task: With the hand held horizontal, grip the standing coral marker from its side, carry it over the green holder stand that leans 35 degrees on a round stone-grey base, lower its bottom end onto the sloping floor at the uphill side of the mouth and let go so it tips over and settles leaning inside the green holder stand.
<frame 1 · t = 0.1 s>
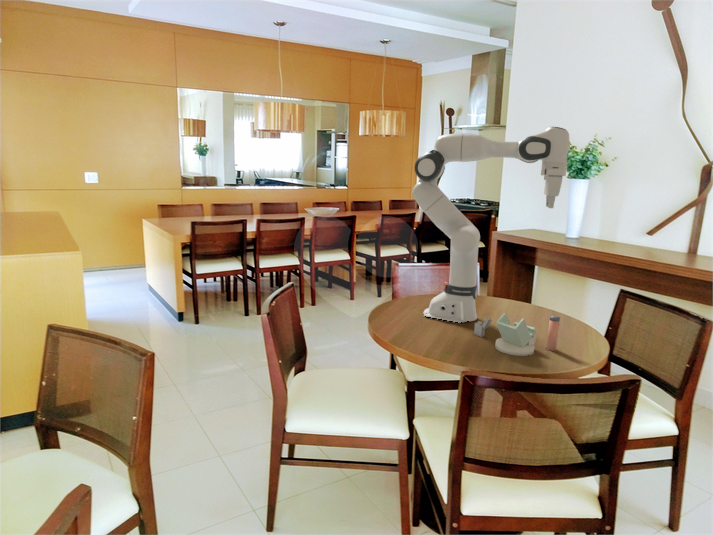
hand: (549, 207, 186), 48 cm above the table, tool pointing down, fingers open, 8 cm apart
lighter: (481, 336, 181), on the table
marker: (551, 349, 170), on the table
green holder stand: (515, 348, 169), on the table
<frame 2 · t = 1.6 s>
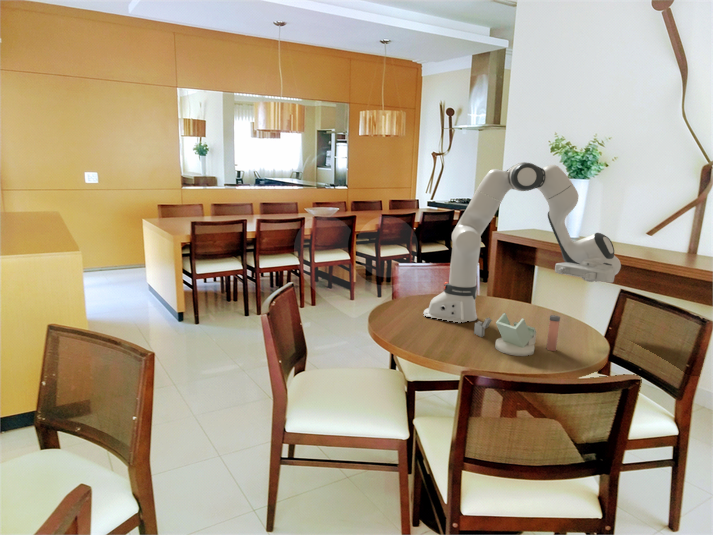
hand: (571, 274, 175), 25 cm above the table, tool horizontal, fingers open, 8 cm apart
nothing on the table moved.
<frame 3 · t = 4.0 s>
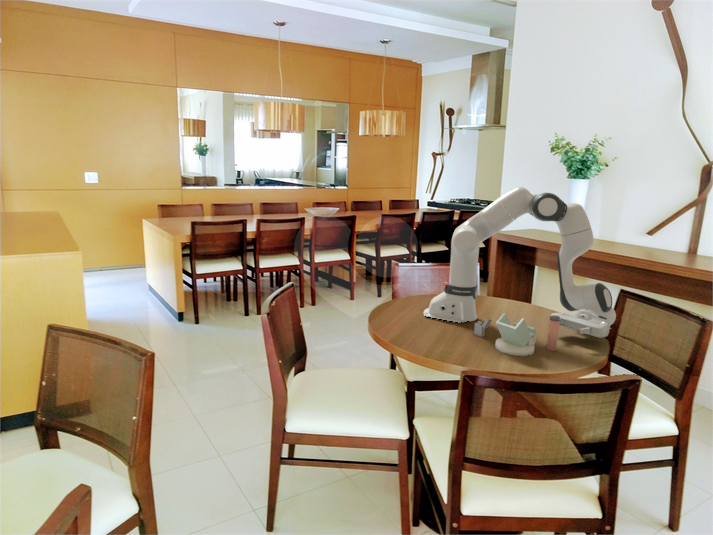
hand: (566, 327, 173), 6 cm above the table, tool horizontal, fingers open, 8 cm apart
nothing on the table moved.
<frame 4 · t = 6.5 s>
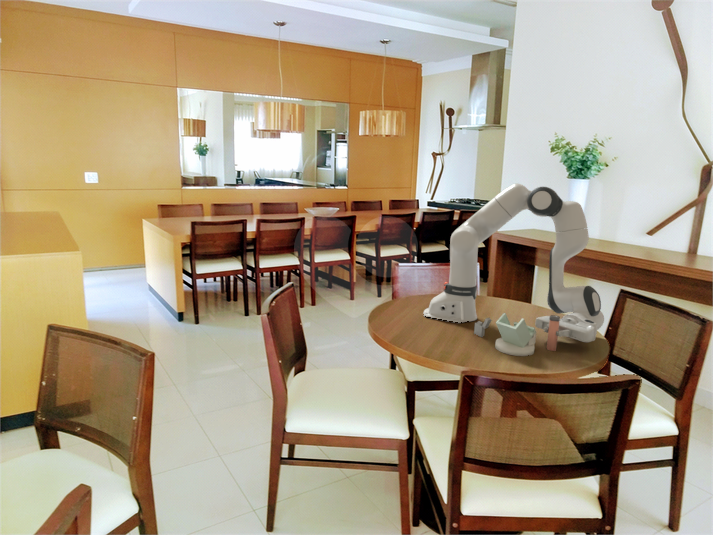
hand: (551, 332, 168), 7 cm above the table, tool horizontal, fingers closed on marker, 3 cm apart
marker: (551, 349, 169), on the table, touching gripper
everything else where it was.
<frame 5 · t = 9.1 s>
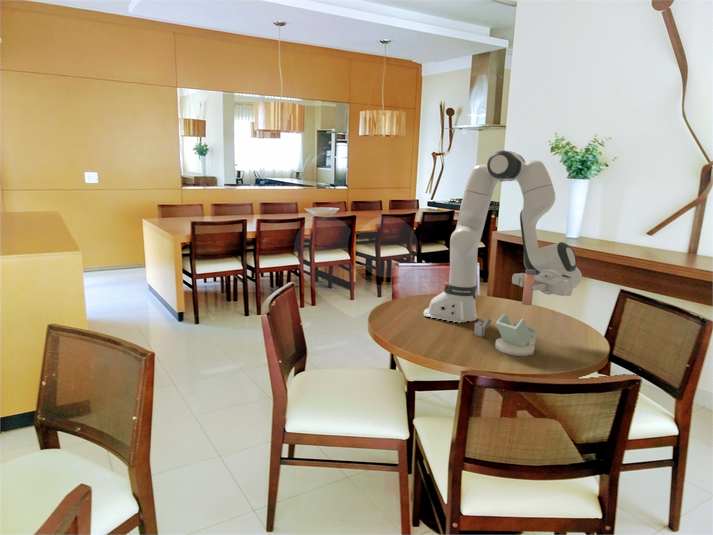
hand: (527, 286, 165), 23 cm above the table, tool horizontal, fingers closed on marker, 3 cm apart
marker: (526, 304, 167), point 16 cm above the table, touching gripper
everything else where it was.
when the fingers open (13 cm above the table, at t = 11.9 s): marker drops 1 cm and tips over, resting on green holder stand.
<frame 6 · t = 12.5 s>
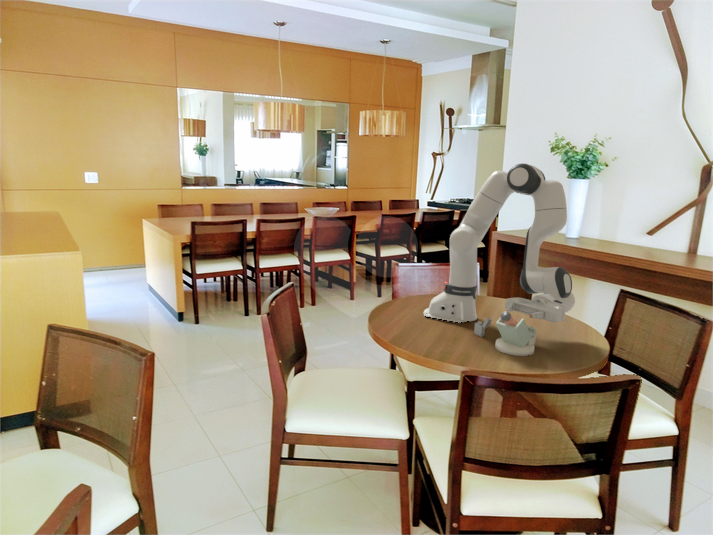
hand: (519, 312, 166), 13 cm above the table, tool horizontal, fingers open, 8 cm apart
marker: (519, 333, 169), point 5 cm above the table, tilted 48°, touching green holder stand
everything else where it was.
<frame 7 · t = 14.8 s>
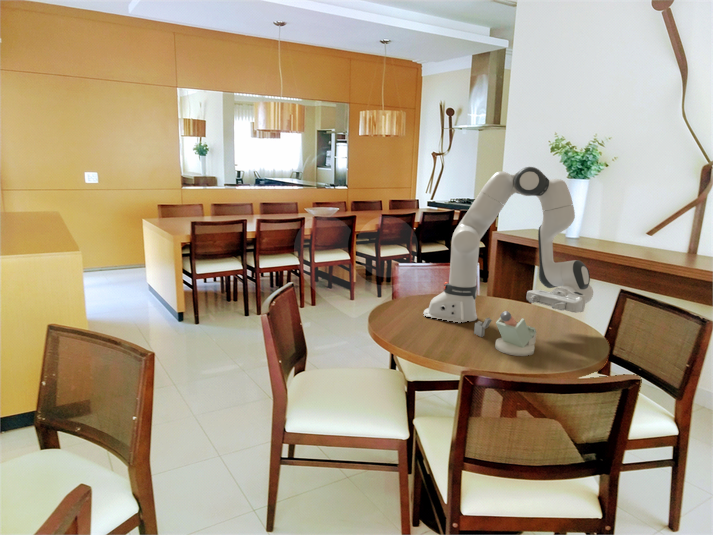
hand: (541, 303, 174), 15 cm above the table, tool horizontal, fingers open, 8 cm apart
nothing on the table moved.
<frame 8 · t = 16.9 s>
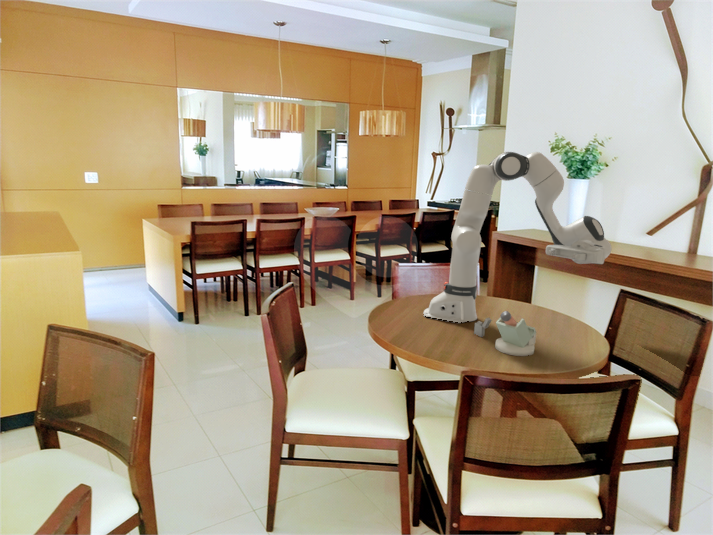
hand: (562, 254, 174), 32 cm above the table, tool horizontal, fingers open, 8 cm apart
nothing on the table moved.
at the end: marker inside the target area on the green holder stand (1.0 cm from its centre), point 5.5 cm above the green holder stand's base; marker tilted 48°; the gripper is holding nothing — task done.
